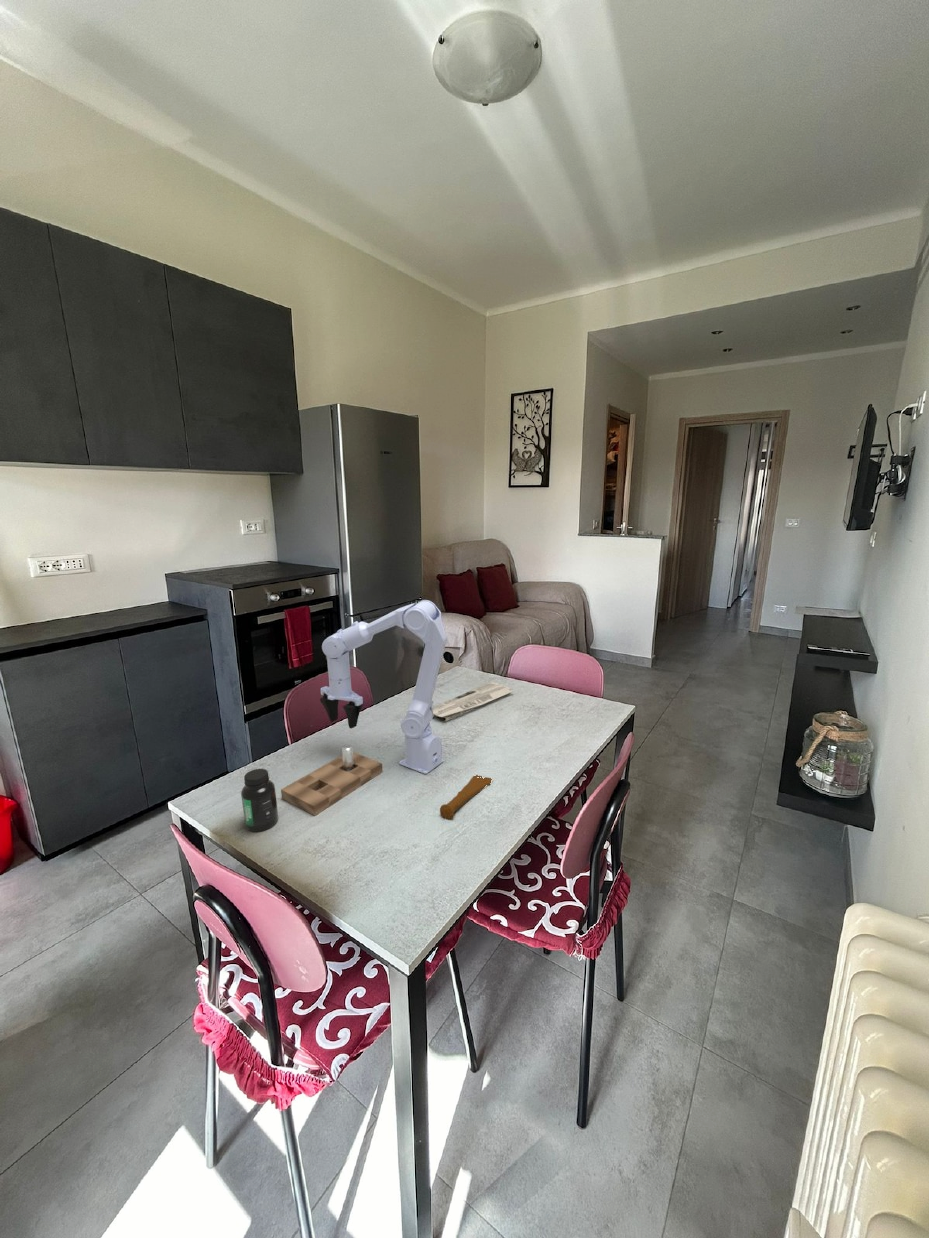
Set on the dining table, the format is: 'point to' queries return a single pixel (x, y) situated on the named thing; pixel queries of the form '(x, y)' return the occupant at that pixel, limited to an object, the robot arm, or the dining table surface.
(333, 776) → the tool stand
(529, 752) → the dining table surface
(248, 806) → the supplement bottle
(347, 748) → the steel peg
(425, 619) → the robot arm
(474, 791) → the primitive tool
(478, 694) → the newspaper
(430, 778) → the dining table surface
